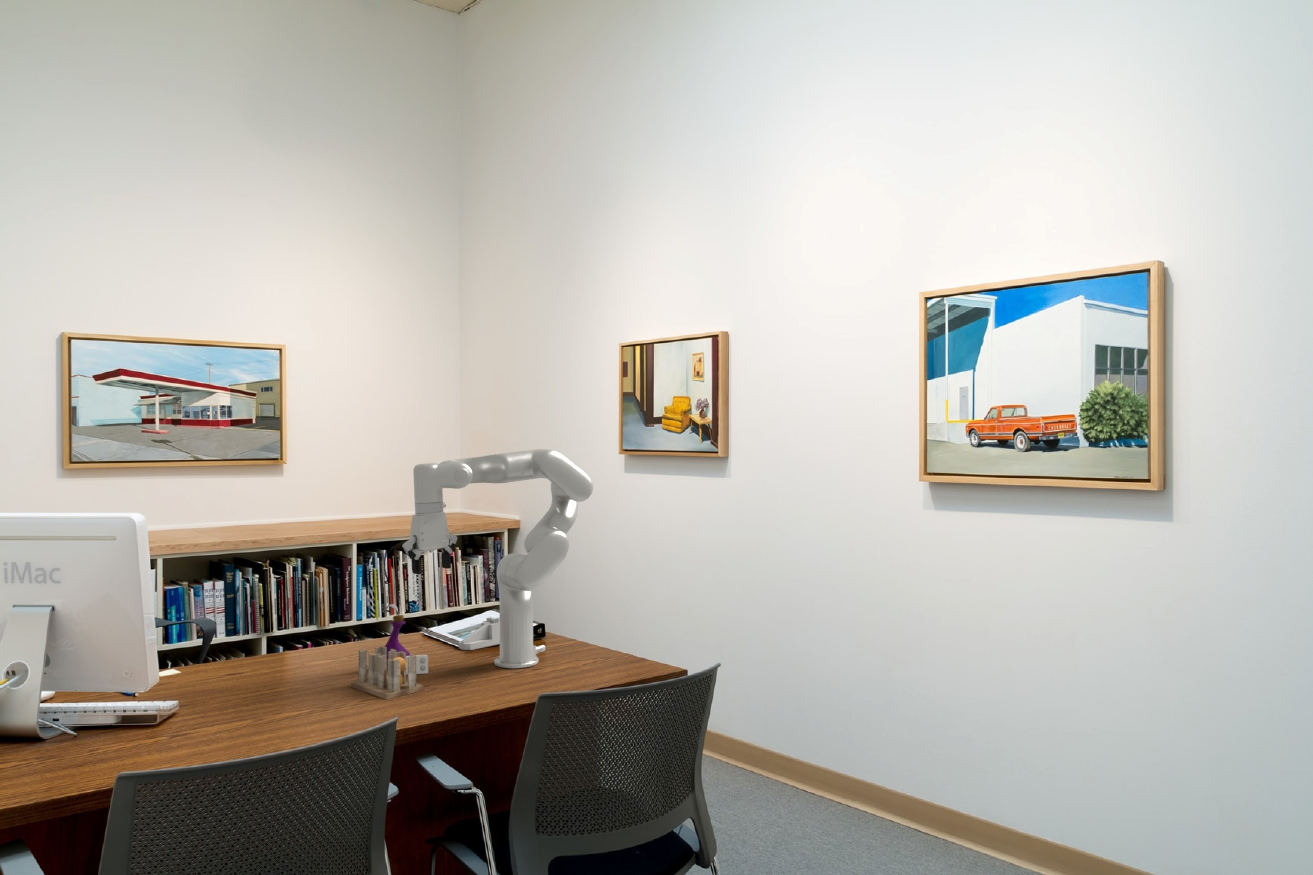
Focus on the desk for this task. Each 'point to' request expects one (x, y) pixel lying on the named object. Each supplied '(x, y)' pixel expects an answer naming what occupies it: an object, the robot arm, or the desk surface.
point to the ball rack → (379, 674)
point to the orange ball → (401, 663)
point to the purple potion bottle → (395, 634)
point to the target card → (419, 664)
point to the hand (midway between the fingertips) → (431, 570)
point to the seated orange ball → (400, 679)
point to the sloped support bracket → (483, 635)
